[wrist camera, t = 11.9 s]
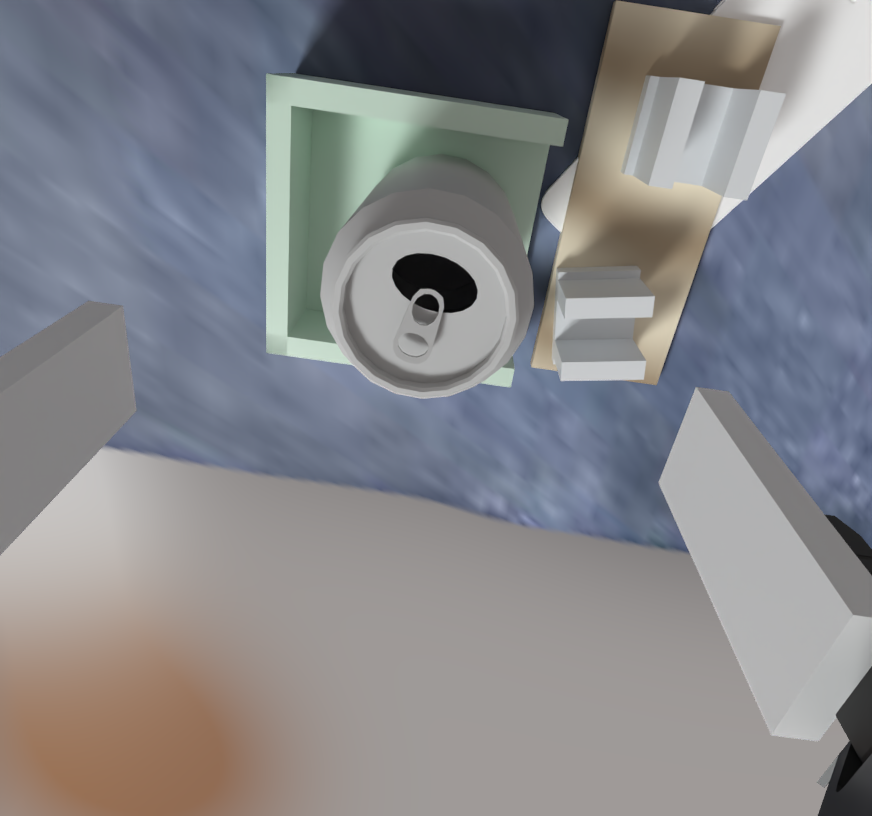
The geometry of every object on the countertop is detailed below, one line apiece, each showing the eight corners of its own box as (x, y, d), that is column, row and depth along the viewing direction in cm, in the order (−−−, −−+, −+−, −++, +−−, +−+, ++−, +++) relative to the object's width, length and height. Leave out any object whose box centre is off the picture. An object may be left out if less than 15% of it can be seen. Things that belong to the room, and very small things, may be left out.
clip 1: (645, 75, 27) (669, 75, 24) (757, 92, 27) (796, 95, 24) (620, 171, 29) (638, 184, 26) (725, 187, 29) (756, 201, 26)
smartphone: (532, 205, 30) (808, -91, 24) (531, 202, 31) (799, -87, 25) (632, 301, 32) (908, 51, 26) (628, 297, 33) (897, 52, 27)
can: (540, 186, 29) (580, 250, 19) (480, 324, 33) (486, 444, 22) (390, 126, 28) (344, 159, 18) (346, 275, 32) (285, 377, 21)
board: (613, 1, 26) (616, 0, 25) (775, 27, 26) (781, 26, 26) (530, 362, 34) (531, 367, 34) (653, 380, 34) (656, 385, 34)
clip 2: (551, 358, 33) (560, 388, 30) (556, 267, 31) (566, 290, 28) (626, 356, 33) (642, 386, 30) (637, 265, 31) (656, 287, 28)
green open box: (294, 73, 28) (266, 73, 24) (554, 112, 28) (568, 119, 24) (290, 319, 34) (266, 352, 30) (505, 350, 34) (510, 387, 30)
